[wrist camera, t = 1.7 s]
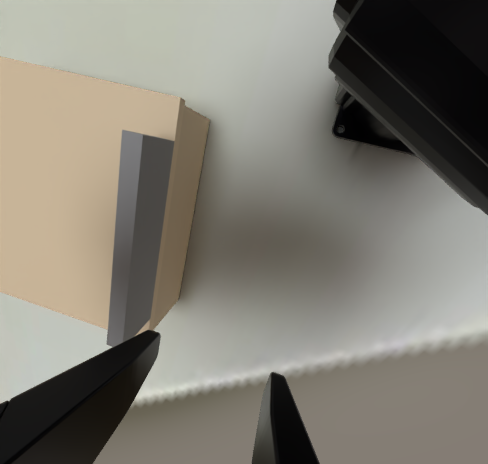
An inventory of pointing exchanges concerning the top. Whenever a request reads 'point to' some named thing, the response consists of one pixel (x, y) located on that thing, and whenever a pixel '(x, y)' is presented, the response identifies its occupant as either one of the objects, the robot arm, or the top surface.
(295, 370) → the top surface
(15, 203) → the lid
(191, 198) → the mailer box
